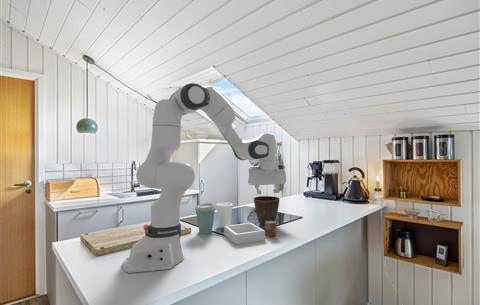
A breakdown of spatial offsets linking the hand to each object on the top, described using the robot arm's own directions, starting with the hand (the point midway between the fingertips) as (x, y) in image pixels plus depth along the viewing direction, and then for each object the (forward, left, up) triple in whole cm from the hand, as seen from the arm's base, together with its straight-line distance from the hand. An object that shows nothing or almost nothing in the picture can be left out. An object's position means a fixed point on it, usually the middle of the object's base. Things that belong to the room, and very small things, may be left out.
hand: (267, 193), depth 130 cm
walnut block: (+1, -1, -21) cm, 21 cm away
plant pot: (+9, +17, -22) cm, 29 cm away
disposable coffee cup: (-27, +19, -22) cm, 39 cm away
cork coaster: (+1, -1, -22) cm, 22 cm away
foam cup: (-14, +25, -22) cm, 36 cm away
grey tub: (-12, +3, -22) cm, 25 cm away
